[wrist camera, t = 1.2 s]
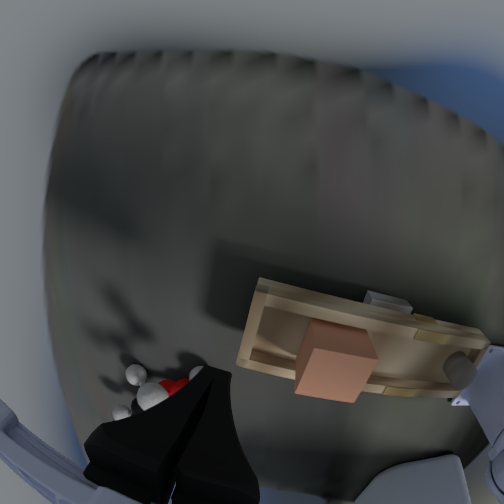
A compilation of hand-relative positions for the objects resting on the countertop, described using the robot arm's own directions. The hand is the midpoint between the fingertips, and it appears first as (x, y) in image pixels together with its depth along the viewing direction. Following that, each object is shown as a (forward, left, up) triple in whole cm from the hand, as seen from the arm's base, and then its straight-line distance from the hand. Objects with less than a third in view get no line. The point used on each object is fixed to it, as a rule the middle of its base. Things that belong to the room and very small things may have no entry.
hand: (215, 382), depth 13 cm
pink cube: (-6, 0, -6) cm, 9 cm away
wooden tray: (-11, 0, -10) cm, 14 cm away
